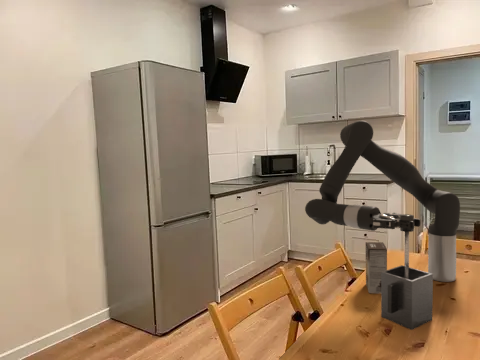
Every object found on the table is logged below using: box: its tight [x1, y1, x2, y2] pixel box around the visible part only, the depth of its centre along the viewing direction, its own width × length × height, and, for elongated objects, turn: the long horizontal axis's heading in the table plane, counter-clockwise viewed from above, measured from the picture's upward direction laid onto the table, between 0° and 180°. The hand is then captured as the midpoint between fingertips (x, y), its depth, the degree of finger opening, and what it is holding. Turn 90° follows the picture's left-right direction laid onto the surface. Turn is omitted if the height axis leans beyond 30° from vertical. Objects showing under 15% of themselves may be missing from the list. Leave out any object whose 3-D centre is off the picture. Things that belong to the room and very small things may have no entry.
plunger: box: [399, 213, 415, 280], centre depth 110 cm, size 8×8×21 cm
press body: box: [380, 264, 434, 331], centre depth 110 cm, size 13×10×14 cm
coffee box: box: [365, 241, 388, 294], centre depth 134 cm, size 9×6×16 cm
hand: (416, 224), depth 107 cm, fingers closed on plunger, 3 cm apart
